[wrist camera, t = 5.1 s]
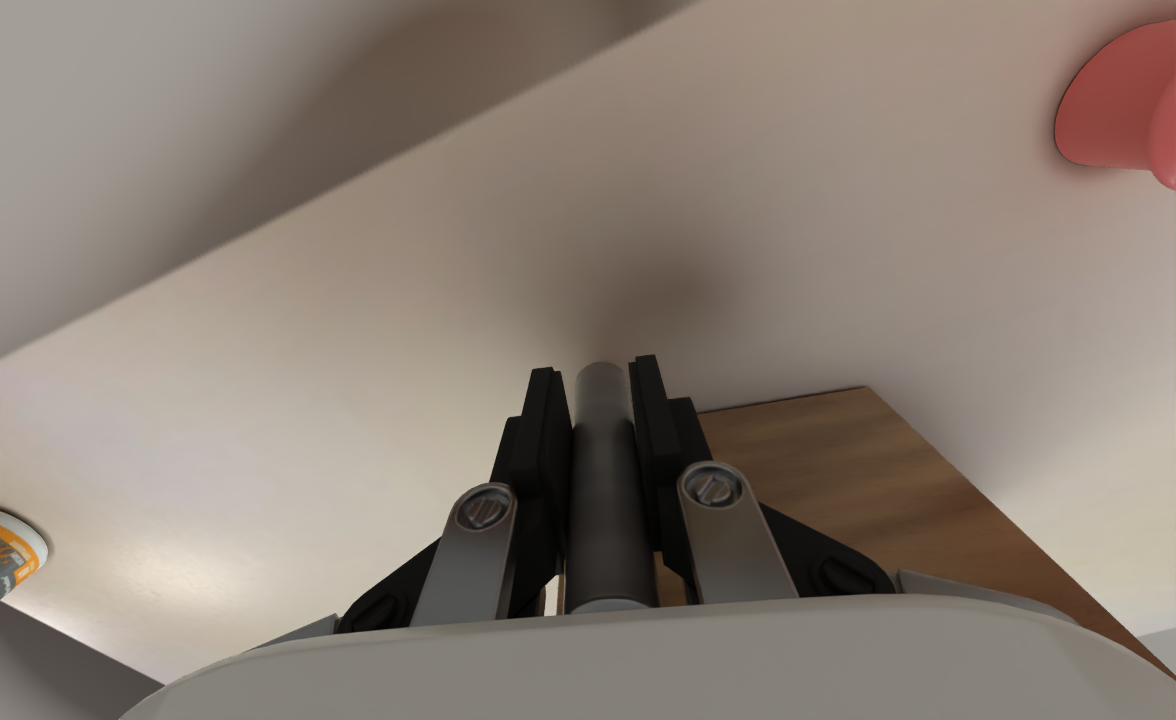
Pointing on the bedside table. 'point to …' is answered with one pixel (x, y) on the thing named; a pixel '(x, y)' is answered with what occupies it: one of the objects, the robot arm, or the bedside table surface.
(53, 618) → the bedside table surface
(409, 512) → the bedside table surface
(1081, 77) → the figurine
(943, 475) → the door
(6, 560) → the pill bottle
